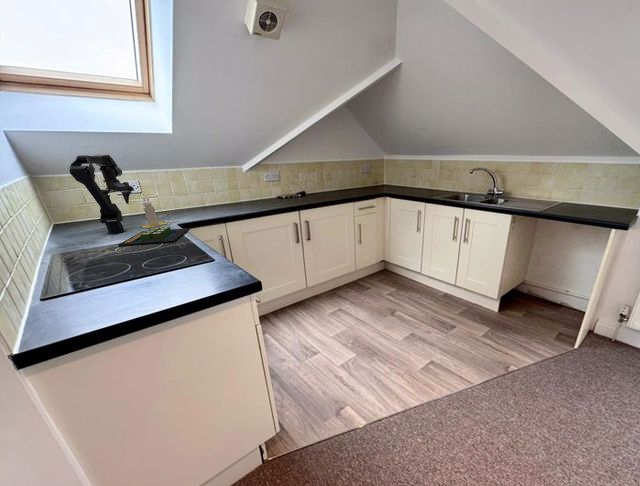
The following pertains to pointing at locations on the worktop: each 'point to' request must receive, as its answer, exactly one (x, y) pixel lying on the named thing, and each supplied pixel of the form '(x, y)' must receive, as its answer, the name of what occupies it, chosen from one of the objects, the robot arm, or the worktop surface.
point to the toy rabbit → (150, 213)
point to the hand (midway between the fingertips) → (119, 205)
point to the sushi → (155, 236)
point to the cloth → (154, 226)
